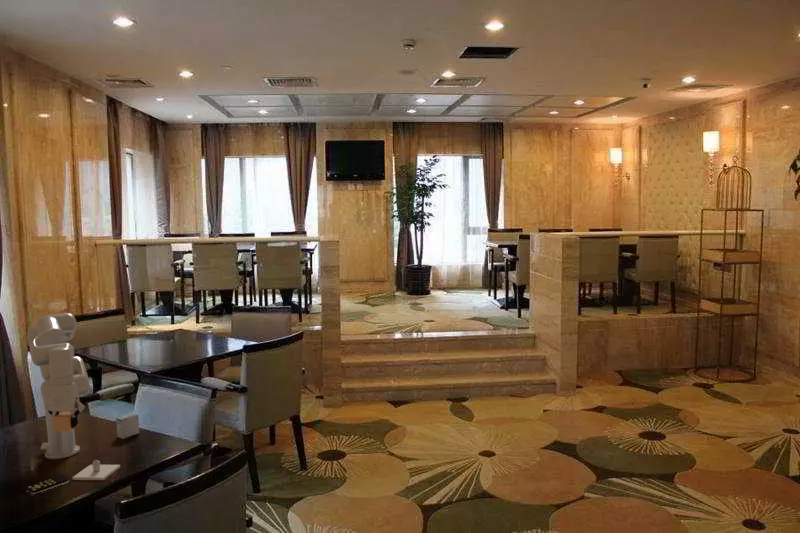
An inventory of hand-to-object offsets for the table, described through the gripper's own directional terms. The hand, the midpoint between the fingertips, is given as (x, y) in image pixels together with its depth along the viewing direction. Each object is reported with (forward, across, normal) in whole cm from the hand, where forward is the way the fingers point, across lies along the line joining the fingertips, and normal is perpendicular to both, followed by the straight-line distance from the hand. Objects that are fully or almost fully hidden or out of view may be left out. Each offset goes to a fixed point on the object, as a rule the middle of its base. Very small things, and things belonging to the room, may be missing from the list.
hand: (66, 426), depth 232 cm
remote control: (+18, 0, -13) cm, 22 cm away
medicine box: (+18, +3, +36) cm, 40 cm away
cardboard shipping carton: (+1, 0, 0) cm, 1 cm away
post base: (+17, +12, -2) cm, 21 cm away
